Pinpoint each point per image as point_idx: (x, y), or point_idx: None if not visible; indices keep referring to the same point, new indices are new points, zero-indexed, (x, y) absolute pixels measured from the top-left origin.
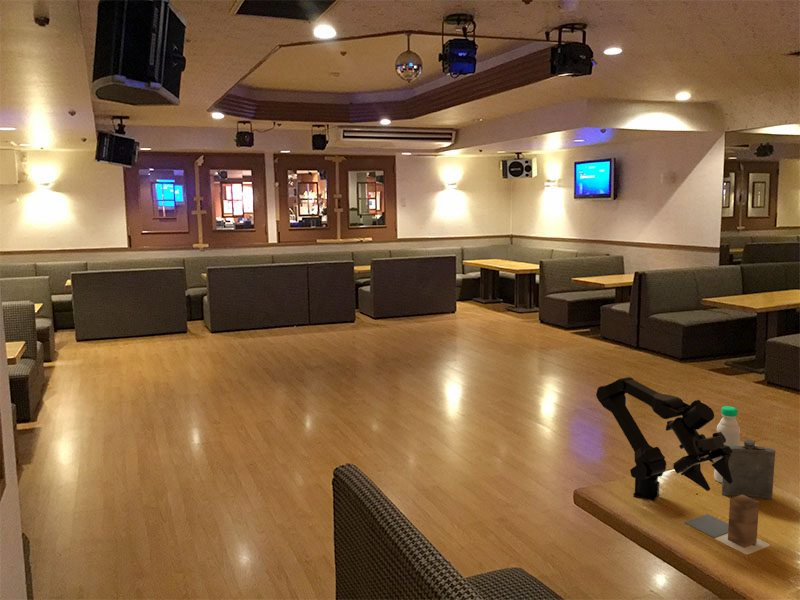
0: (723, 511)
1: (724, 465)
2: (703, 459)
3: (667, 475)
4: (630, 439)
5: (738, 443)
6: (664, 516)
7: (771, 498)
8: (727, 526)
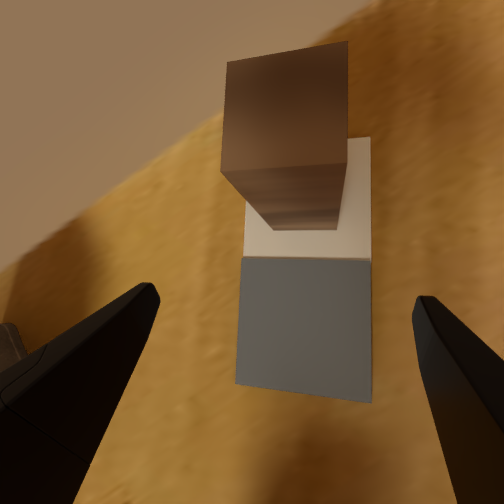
0: (168, 365)
1: (21, 403)
2: None
3: None
4: None
5: None
6: (387, 495)
7: (5, 323)
8: (258, 285)
